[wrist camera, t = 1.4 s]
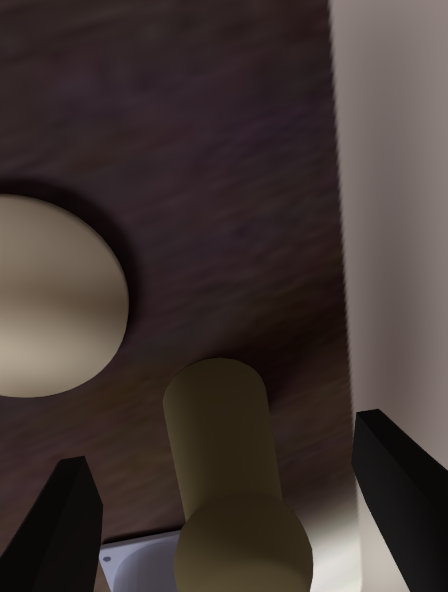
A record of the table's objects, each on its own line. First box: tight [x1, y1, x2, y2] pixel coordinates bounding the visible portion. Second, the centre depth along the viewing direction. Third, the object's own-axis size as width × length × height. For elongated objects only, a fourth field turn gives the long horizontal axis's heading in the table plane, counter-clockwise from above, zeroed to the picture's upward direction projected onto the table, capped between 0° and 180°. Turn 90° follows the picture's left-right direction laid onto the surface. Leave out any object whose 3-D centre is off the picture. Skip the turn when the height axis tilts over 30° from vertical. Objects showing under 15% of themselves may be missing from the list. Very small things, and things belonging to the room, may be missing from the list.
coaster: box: [0, 194, 129, 397], centre depth 19 cm, size 10×10×1 cm
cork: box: [163, 358, 313, 592], centre depth 19 cm, size 6×6×11 cm
